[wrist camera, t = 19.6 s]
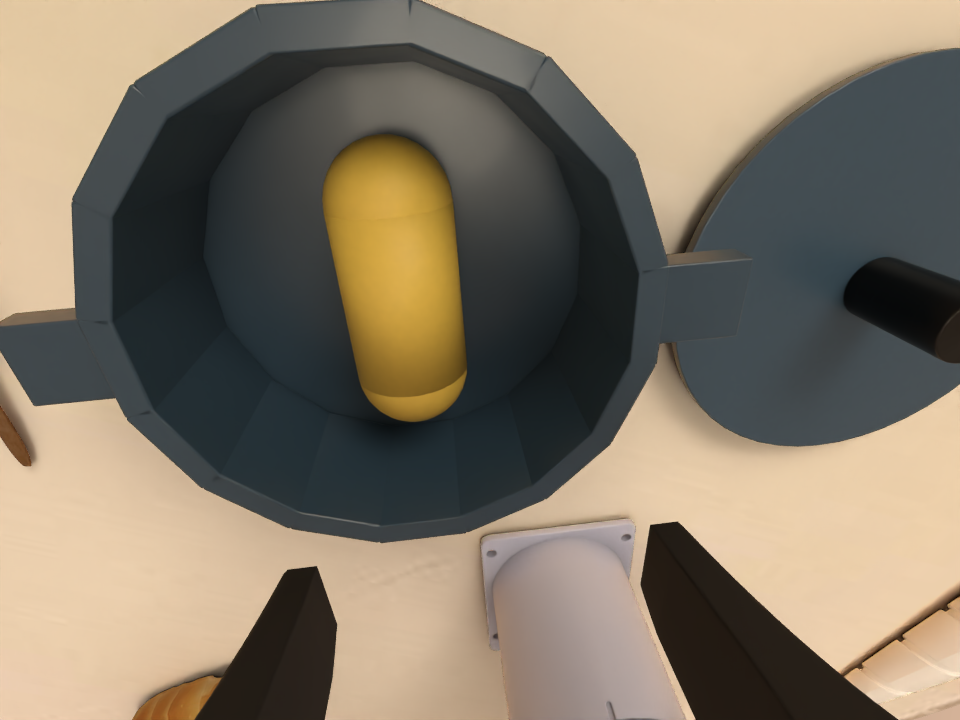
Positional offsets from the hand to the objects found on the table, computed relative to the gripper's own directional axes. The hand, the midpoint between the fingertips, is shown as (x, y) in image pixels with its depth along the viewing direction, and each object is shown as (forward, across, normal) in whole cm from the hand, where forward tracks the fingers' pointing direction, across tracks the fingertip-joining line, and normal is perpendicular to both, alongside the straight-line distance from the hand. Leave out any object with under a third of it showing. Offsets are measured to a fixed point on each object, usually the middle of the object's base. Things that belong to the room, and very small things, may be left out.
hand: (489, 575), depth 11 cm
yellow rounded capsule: (+10, +2, -4) cm, 11 cm away
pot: (+10, +2, -4) cm, 11 cm away
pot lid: (+10, -16, -2) cm, 19 cm away
